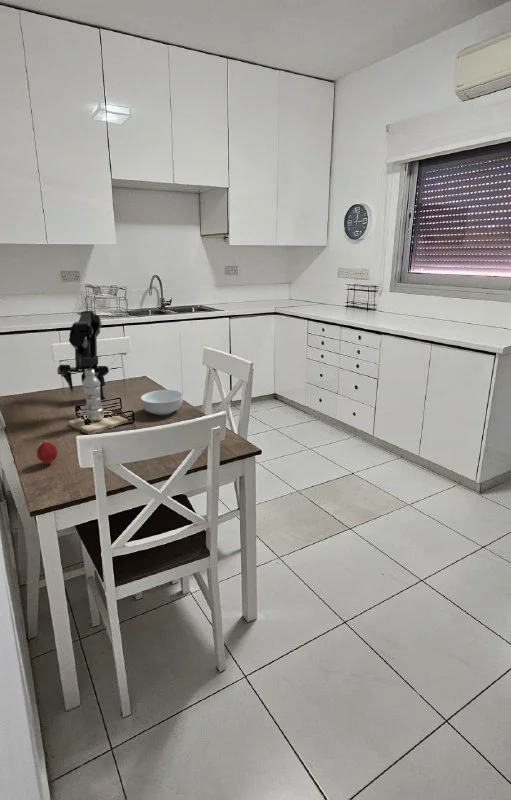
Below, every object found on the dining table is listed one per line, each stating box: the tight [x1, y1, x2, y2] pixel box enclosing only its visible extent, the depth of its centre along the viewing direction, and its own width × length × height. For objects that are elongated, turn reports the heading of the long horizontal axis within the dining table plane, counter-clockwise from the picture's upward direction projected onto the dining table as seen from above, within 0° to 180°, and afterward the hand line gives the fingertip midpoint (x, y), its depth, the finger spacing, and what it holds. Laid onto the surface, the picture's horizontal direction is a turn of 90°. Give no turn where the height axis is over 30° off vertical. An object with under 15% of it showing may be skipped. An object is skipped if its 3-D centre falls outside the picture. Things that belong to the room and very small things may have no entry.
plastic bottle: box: [82, 369, 104, 421], centre depth 176 cm, size 6×7×20 cm
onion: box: [36, 440, 58, 465], centre depth 145 cm, size 6×6×8 cm
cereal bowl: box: [140, 389, 184, 416], centre depth 191 cm, size 17×17×7 cm
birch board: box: [68, 415, 129, 435], centre depth 179 cm, size 16×16×2 cm
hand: (84, 391), depth 186 cm, fingers open, 9 cm apart
